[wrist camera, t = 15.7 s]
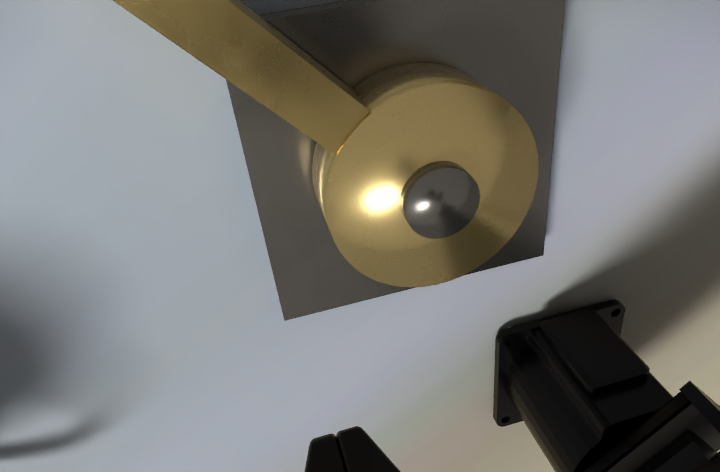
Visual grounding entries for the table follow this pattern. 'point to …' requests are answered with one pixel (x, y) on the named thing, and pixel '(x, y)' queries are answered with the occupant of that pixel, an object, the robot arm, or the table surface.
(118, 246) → the table surface
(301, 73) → the brass door lever
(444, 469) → the table surface
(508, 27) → the base
